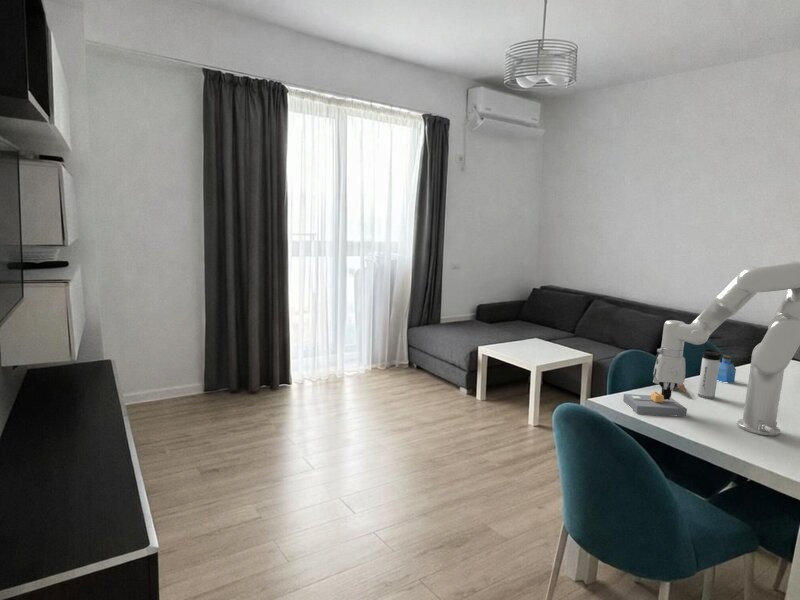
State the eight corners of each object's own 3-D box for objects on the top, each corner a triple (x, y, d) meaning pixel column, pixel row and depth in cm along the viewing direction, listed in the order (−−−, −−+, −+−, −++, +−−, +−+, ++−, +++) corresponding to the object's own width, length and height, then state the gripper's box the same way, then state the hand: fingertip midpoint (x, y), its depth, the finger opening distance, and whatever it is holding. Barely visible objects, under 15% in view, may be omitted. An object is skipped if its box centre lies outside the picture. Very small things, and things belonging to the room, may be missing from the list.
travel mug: (709, 394, 217) (715, 349, 214) (717, 399, 211) (724, 353, 208) (694, 393, 218) (700, 348, 215) (701, 398, 211) (708, 352, 208)
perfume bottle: (712, 379, 241) (716, 355, 239) (721, 378, 244) (724, 354, 242) (725, 383, 235) (729, 358, 234) (734, 382, 238) (737, 357, 236)
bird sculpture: (678, 397, 211) (680, 386, 211) (651, 379, 236) (652, 369, 235) (694, 398, 211) (696, 386, 211) (665, 380, 236) (666, 370, 235)
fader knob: (663, 402, 194) (664, 395, 193) (655, 402, 194) (656, 395, 193) (658, 398, 198) (659, 392, 197) (650, 398, 198) (651, 391, 197)
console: (686, 416, 189) (687, 408, 188) (636, 413, 190) (637, 405, 189) (668, 403, 203) (669, 396, 202) (623, 400, 204) (623, 393, 203)
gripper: (655, 353, 190) (649, 400, 192) (696, 356, 189) (690, 403, 191) (647, 349, 197) (641, 394, 200) (687, 351, 196) (680, 396, 199)
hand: (665, 398), depth 196 cm, fingers closed
